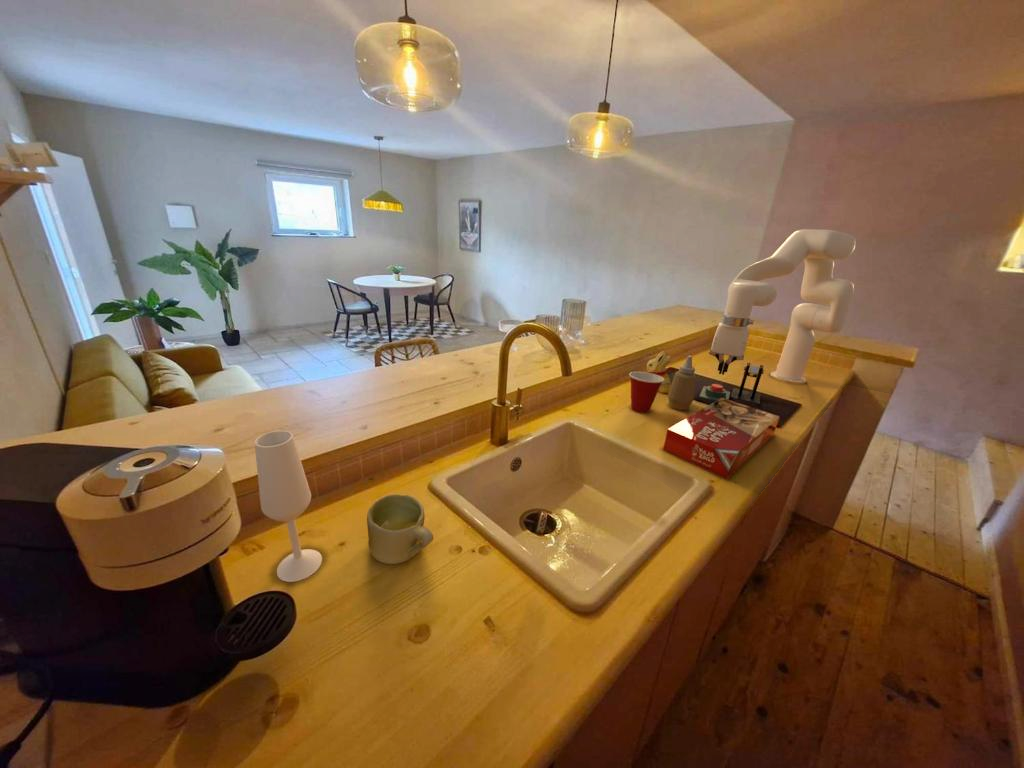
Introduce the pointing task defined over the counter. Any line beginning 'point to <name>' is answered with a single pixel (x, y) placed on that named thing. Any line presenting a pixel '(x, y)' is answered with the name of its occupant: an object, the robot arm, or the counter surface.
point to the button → (716, 387)
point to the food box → (721, 436)
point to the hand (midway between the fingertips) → (721, 373)
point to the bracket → (747, 395)
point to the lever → (753, 371)
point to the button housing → (713, 394)
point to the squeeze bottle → (683, 386)
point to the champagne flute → (285, 497)
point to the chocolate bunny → (660, 370)
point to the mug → (397, 529)
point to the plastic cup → (644, 390)
